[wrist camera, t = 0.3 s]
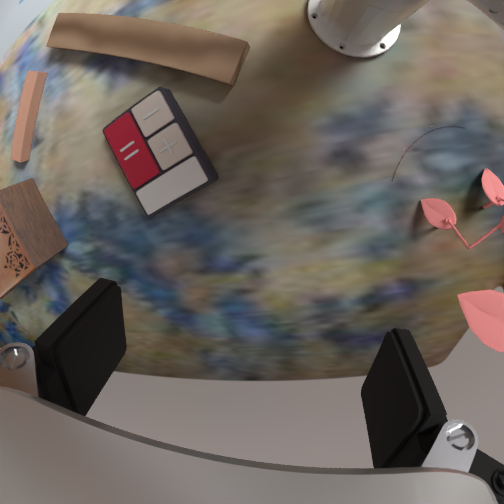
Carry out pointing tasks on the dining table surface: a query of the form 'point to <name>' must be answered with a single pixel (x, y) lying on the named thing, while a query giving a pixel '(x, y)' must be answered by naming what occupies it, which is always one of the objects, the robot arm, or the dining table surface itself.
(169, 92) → the calculator
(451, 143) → the dining table surface
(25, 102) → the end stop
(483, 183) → the leafy plant stem
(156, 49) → the brown wooden plank
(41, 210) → the tissue box cover
